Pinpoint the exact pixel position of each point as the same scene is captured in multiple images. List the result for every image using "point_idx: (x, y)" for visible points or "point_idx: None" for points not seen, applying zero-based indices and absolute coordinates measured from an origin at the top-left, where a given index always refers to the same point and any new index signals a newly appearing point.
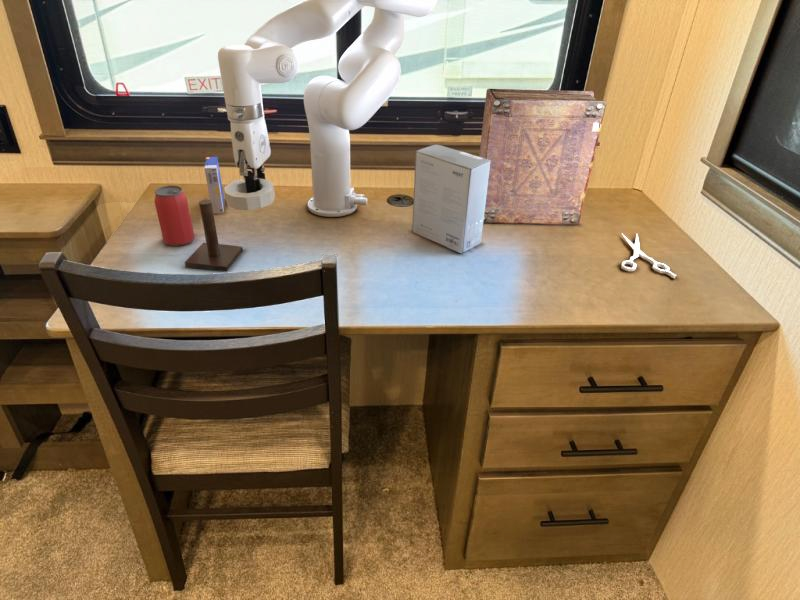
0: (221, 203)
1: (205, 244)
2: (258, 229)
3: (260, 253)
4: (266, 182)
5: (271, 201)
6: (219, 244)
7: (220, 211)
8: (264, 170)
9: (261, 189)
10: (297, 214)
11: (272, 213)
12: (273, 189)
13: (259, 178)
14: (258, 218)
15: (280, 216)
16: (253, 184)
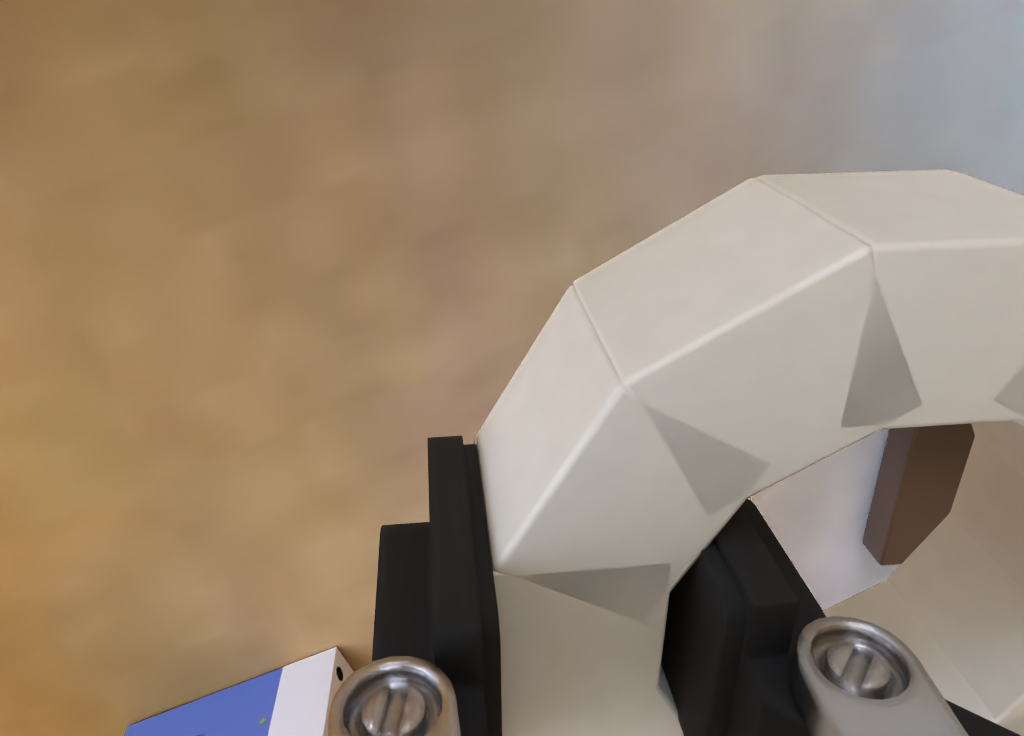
0: (327, 715)
1: (912, 542)
2: (539, 313)
3: (967, 133)
4: (672, 455)
5: (952, 176)
6: (915, 464)
7: (344, 670)
8: (357, 683)
9: (1012, 415)
10: (101, 58)
11: (190, 317)
12: (879, 227)
13: (502, 626)
14: (335, 391)
15: (222, 221)
16: (811, 607)
